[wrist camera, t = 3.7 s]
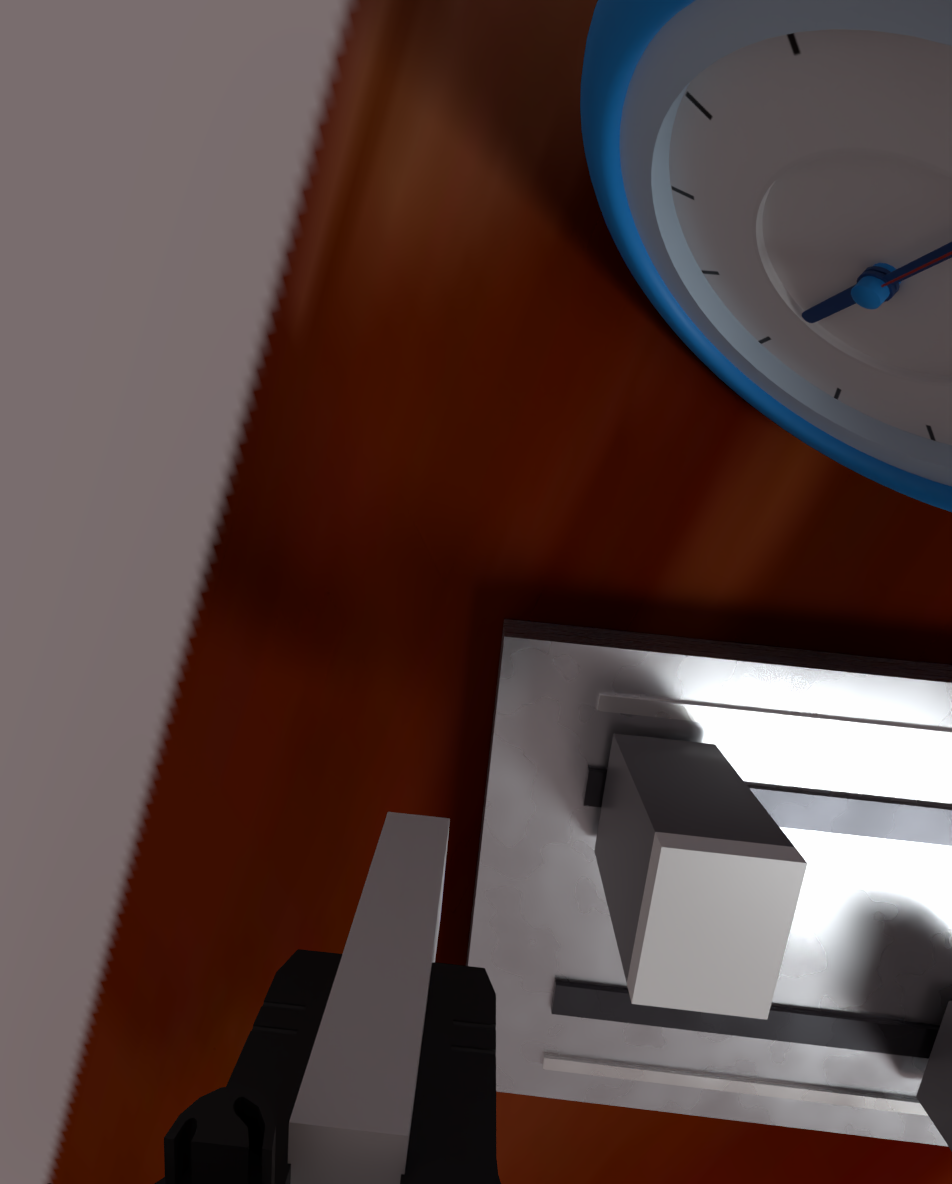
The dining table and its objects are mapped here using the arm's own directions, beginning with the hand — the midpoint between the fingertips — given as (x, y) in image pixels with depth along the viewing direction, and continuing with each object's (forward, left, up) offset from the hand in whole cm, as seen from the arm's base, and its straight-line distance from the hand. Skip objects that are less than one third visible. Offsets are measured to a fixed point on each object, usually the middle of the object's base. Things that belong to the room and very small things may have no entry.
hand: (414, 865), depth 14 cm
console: (+4, +15, -6) cm, 16 cm away
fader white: (0, +7, -4) cm, 8 cm away
